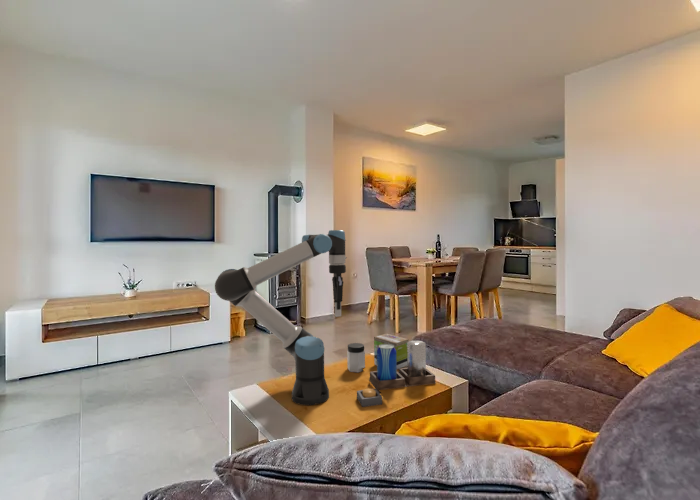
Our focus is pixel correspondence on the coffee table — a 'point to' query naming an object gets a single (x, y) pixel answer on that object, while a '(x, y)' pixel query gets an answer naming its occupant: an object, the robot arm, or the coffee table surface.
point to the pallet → (401, 380)
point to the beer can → (386, 362)
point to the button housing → (369, 399)
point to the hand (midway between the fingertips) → (338, 316)
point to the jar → (355, 357)
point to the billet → (416, 358)
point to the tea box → (399, 346)
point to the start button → (369, 393)
